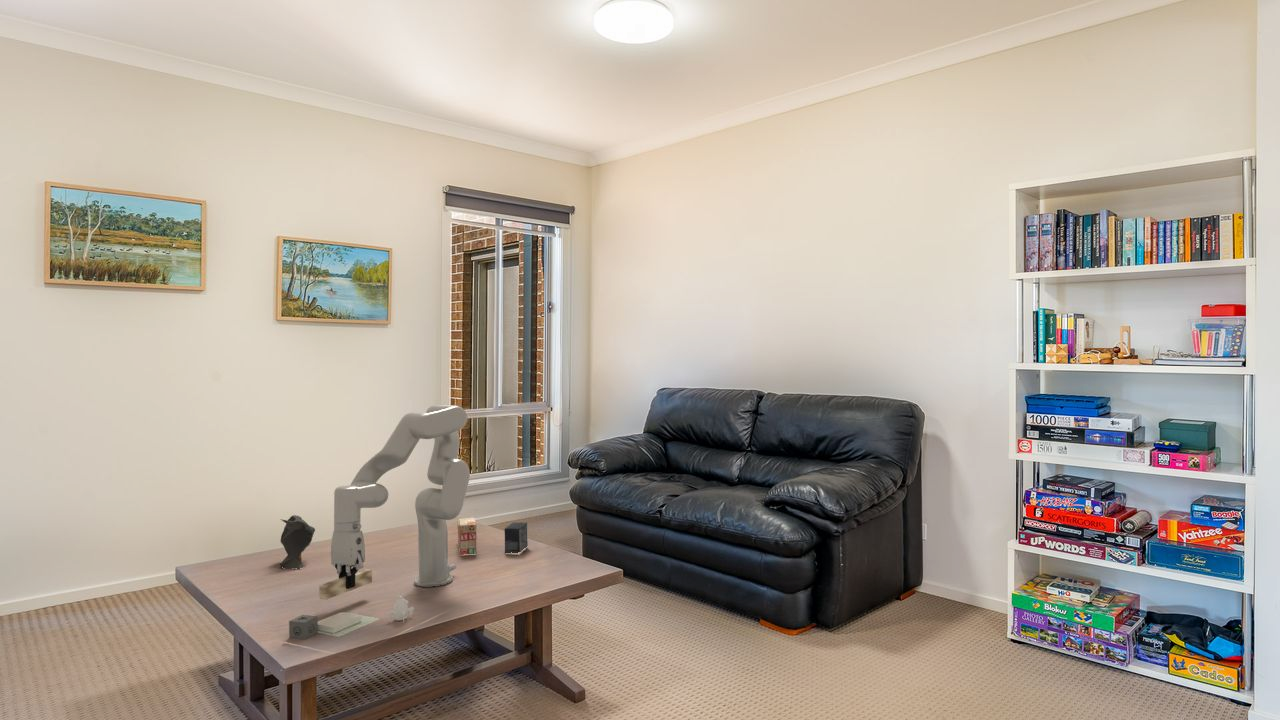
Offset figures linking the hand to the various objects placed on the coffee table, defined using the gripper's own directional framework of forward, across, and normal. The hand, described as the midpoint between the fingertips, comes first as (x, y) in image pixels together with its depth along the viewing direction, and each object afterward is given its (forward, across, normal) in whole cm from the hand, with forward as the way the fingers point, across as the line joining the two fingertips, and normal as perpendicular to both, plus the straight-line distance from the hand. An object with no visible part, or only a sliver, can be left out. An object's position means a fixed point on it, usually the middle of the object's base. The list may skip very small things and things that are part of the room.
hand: (347, 586), depth 221 cm
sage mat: (+6, -11, +12) cm, 18 cm away
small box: (+5, -10, -74) cm, 75 cm away
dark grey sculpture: (+6, +57, -28) cm, 64 cm away
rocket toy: (+6, -24, +2) cm, 25 cm away
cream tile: (+5, -11, +8) cm, 15 cm away
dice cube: (+7, -8, +22) cm, 25 cm away
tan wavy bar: (+1, 0, 0) cm, 1 cm away
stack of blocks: (+5, +10, -70) cm, 71 cm away
